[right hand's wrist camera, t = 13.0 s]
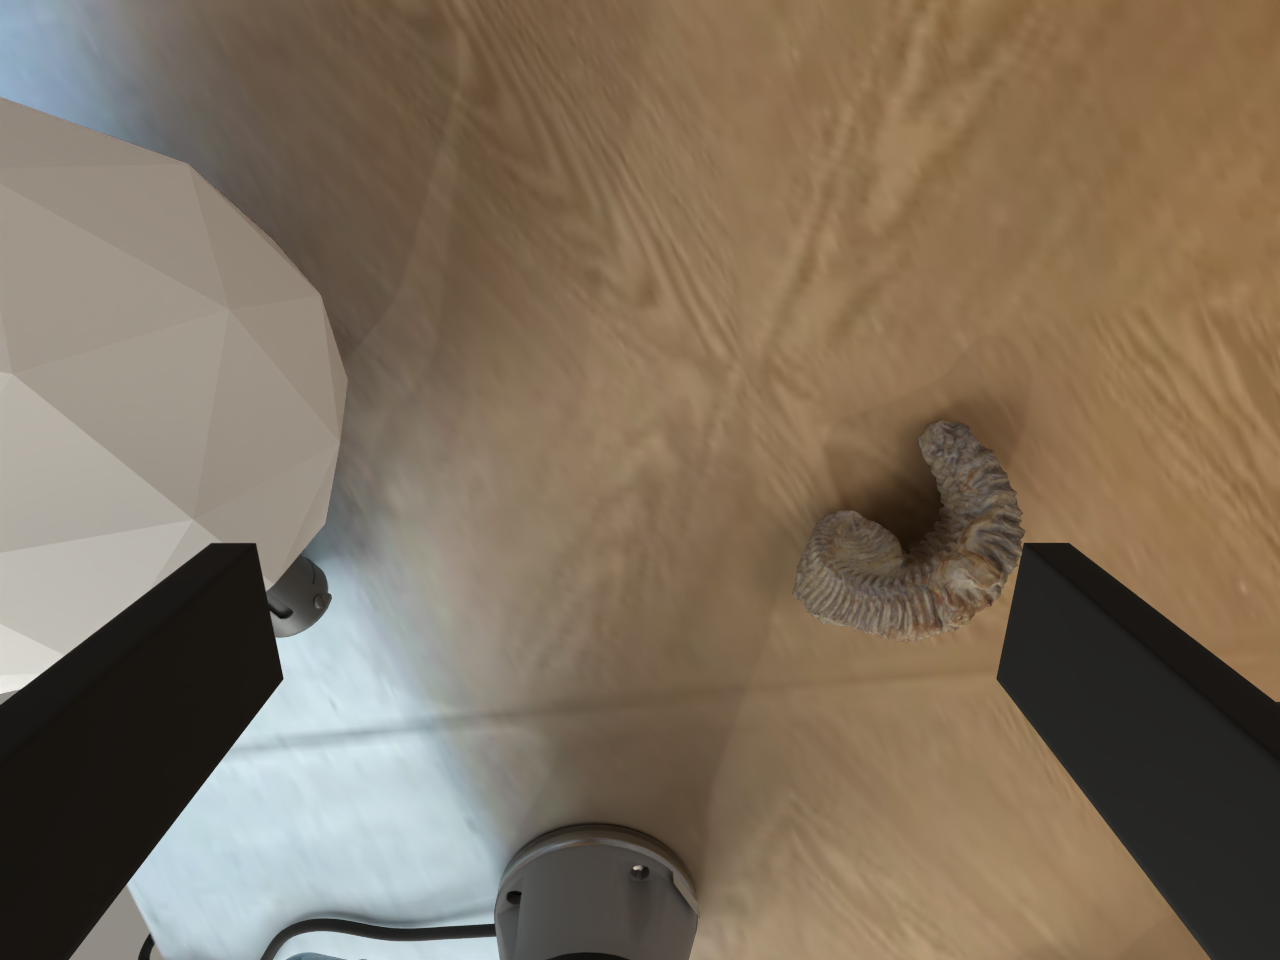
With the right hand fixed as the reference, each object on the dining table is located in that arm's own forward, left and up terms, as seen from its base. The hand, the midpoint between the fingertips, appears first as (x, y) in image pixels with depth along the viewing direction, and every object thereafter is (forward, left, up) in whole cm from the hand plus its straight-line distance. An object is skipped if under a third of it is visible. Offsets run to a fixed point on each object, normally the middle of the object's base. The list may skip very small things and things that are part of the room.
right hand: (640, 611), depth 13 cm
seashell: (+12, -15, -30) cm, 36 cm away
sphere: (-24, +3, -30) cm, 39 cm away
